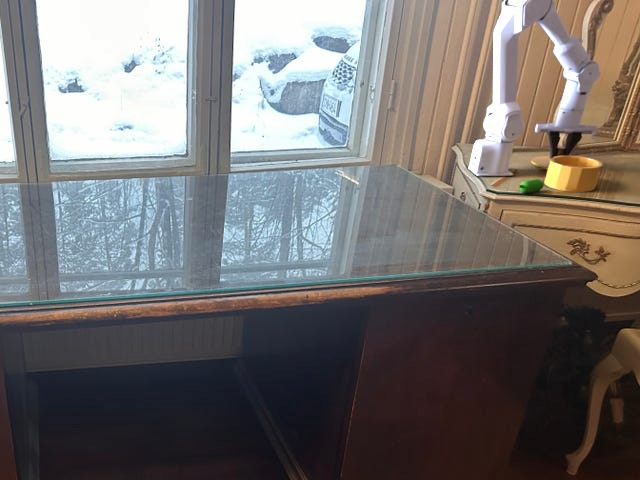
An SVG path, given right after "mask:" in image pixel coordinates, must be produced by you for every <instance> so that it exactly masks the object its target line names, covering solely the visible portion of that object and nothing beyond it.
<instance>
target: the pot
mask: <svg viewBox="0 0 640 480" xmlns="http://www.w3.org/2000/svg"><path fill="white" fill-rule="evenodd" d="M603 166H604V164H603V162H602V161H600V160H598V159H595V158H592V157H587V156H581V155H580V156H579V155H569V156H555V157H553V158H551V159H550V162H549V166H548V169H546V173H545V177H544V182H543V184H544V186H545V185H546V186H547V187H548V188H551V189H555V190H559V191H564V192H572V193H585V192H591V191H594V190H595V189H596V188H597V184H598V182H599V178H600V175H601V172H602V168H603Z"/></svg>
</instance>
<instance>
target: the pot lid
mask: <svg viewBox="0 0 640 480" xmlns="http://www.w3.org/2000/svg"><path fill="white" fill-rule="evenodd" d="M565 150H566V146H562V145H558V146H557V149H556V154H555V156H564V153H565ZM530 162H531V164H532V165H534V166H536V167H538V168H541V169H546V170H547V169H548V166H549V162H550V155H542V156H541V155H540V156H536V157H535V156H534V157H533V158H532V159H531V161H530Z"/></svg>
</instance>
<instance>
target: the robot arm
mask: <svg viewBox="0 0 640 480" xmlns="http://www.w3.org/2000/svg"><path fill="white" fill-rule="evenodd" d="M535 23H538V24H539V25H540V26H541V28H542V29H543V30H544V31H545V33H546V35H548V37H549V38H550V40H551V41H552V42H553V44H554V48H553V54H554V56H555V57H556V59H557V61H558V62H559V63H560V66H561V67H562V68H563V78H564V79H565V80H566V83H565V87H564V91H563V94H562V98H561V102H560V104H559V105H560V106H559V110H558V113H557V116H556V120H555V122H554V123H536V125H535V128H534V132H535V133H536V134H540V133H546V134H547V137H548V141H549V156H550V159H551V158H553V157H555V154H556V149H557V146H559V143H560V140H561V134H567V138H566V142H565V147H566V150H565V153H564V156H570V155H571V152H572V151H573V149H574V148H575V147H576V146H577V144H579V143H580V142H581V140H582V139H583V135H591V136H597V135H598V131H599V127H598V126H597V125H588V124H581V122H582V118H583V115H584V112H585V108H586V105H587V102H588V98H589V94H590V92H591V90H592V89H593V85H594V84H595V82H597V81H598V79H599V78H600V76H601V71H600V66H599V64H598V62H597V61H595V60H591V53H590V52H587V50H586V49H585V47H584V46H583V42H584V40H583V39H582V37H578V36H577V35H570V34H569V32H568V29H567V28H566V26H565V24H564V22H563V20H562V18H561V16H560V14H559V12H558V11H557V8H556V3H555V1H554V0H503V1H502V3H501V12H500V15H499V18H498V19H497V22H496V24H495V27H494V30H493V49H492V51H493V54H492V55H493V59H492V60H493V61H492V62H493V63H492V65H493V67H492V69H493V70H492V103H491V104H490V105H488V107H487V108H486V115H485V118H484V120H483V130H484V131H485V137H484V138H481V139H477V140H475V141H474V144H473V147H472V152H471V156H470V159H469V160H470V161H469V166H468V167H467V169H468V170H469V171H471V172H472V173H473V174H474V175H476V177H507V176H510V177H512V176H514V173H512V172H511V171H510V170H509V167H510V163H511V159H512V155H513V151H514V145H515V143H516V142H517V139H519V138H520V137H521V135H522V134H523V133H524V130H525V121H524V119H523V117H522V109H521V107H520V105H519V103H518V101H517V94H518V93H517V90H518V89H517V88H518V60H519V59H518V56H519V36H521V34H522V33H523V32H524V31H526V29H528V28H529V27H531V26H532V25H534V24H535Z"/></svg>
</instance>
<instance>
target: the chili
mask: <svg viewBox="0 0 640 480" xmlns="http://www.w3.org/2000/svg"><path fill="white" fill-rule="evenodd" d="M516 187H517V189H519V191H520V192H521V193H523V194H528V193H535V192H539V191H541V190H542V189H543V188H544V187H545V183H544V182H543V181H542V180H541V179H540V178H534V179H527V180H524V181H522V182H521V183H520V184H517V186H516Z"/></svg>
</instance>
